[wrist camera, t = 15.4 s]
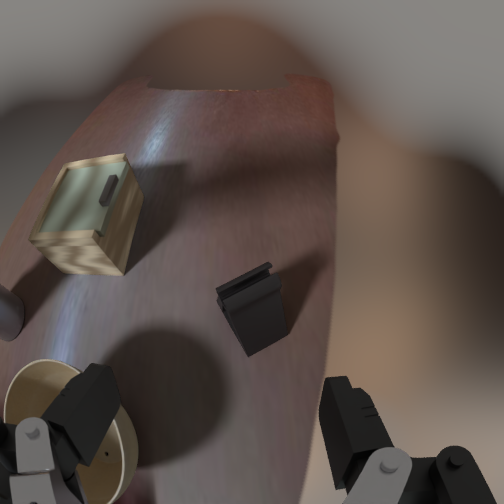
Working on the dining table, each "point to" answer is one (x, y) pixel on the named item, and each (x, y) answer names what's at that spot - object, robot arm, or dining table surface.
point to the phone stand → (254, 308)
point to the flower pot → (114, 443)
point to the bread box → (90, 217)
